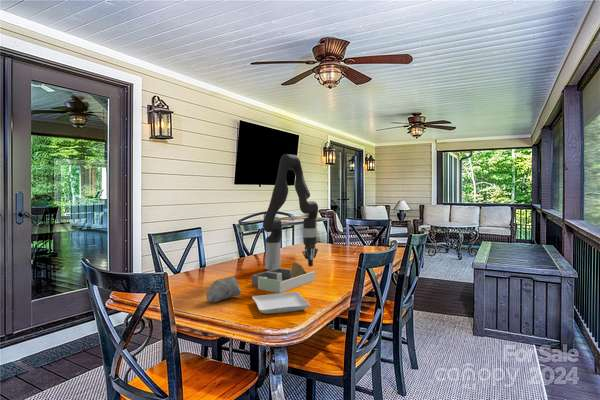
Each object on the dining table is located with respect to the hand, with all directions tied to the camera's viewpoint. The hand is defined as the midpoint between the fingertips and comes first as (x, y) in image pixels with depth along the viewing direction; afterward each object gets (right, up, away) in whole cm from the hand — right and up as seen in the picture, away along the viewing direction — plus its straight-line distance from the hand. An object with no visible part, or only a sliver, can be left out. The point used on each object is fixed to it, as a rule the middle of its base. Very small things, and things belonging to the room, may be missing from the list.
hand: (310, 266), depth 218 cm
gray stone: (-41, -8, -44) cm, 60 cm away
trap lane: (-16, -7, -14) cm, 22 cm away
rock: (-6, -7, -8) cm, 12 cm away
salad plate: (-15, -8, -55) cm, 58 cm away
